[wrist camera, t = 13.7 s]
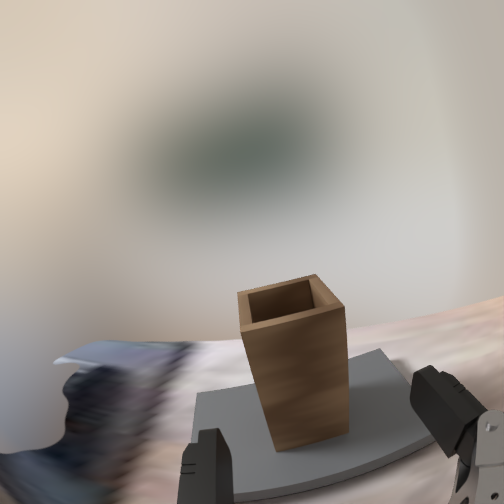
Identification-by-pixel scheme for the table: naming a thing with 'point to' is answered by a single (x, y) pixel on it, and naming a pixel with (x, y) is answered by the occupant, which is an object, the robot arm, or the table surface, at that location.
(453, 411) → the robot arm
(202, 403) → the plate
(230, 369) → the table surface
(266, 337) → the sleeve
